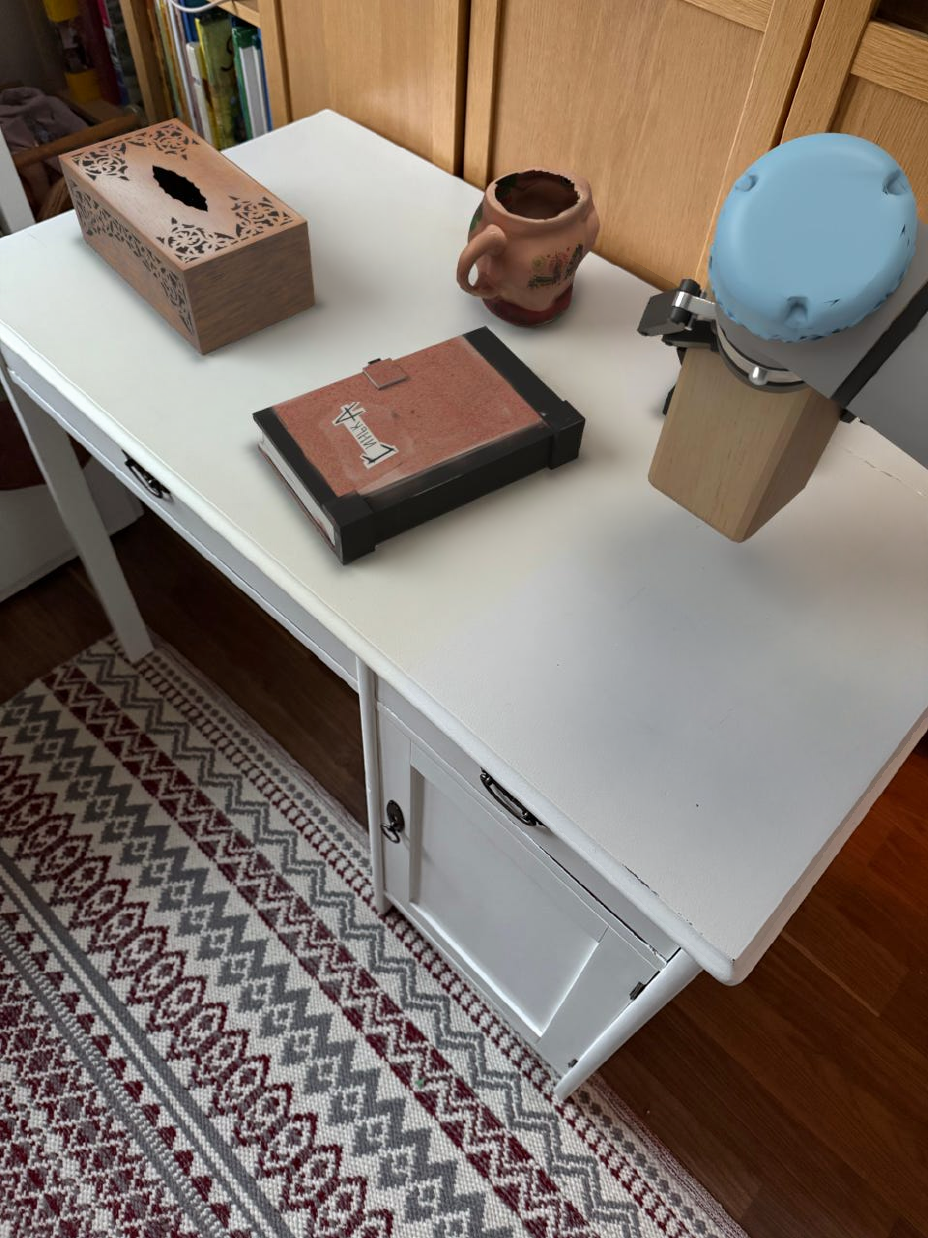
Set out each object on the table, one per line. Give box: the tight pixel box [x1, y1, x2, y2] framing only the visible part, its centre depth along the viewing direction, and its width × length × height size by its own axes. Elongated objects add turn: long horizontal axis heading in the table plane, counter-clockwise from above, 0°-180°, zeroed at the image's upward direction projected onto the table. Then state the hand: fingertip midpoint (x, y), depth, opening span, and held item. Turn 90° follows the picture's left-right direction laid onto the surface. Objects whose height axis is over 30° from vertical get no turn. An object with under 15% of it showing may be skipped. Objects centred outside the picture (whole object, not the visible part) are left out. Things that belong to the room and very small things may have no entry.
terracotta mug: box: [455, 166, 601, 327], centre depth 97 cm, size 20×12×14 cm, turn 141°
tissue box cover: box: [57, 117, 316, 356], centre depth 99 cm, size 26×14×10 cm, turn 41°
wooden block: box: [647, 279, 886, 544], centre depth 67 cm, size 10×10×20 cm
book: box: [251, 325, 587, 566], centre depth 87 cm, size 26×18×5 cm
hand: (770, 376), depth 69 cm, fingers closed on wooden block, 12 cm apart
